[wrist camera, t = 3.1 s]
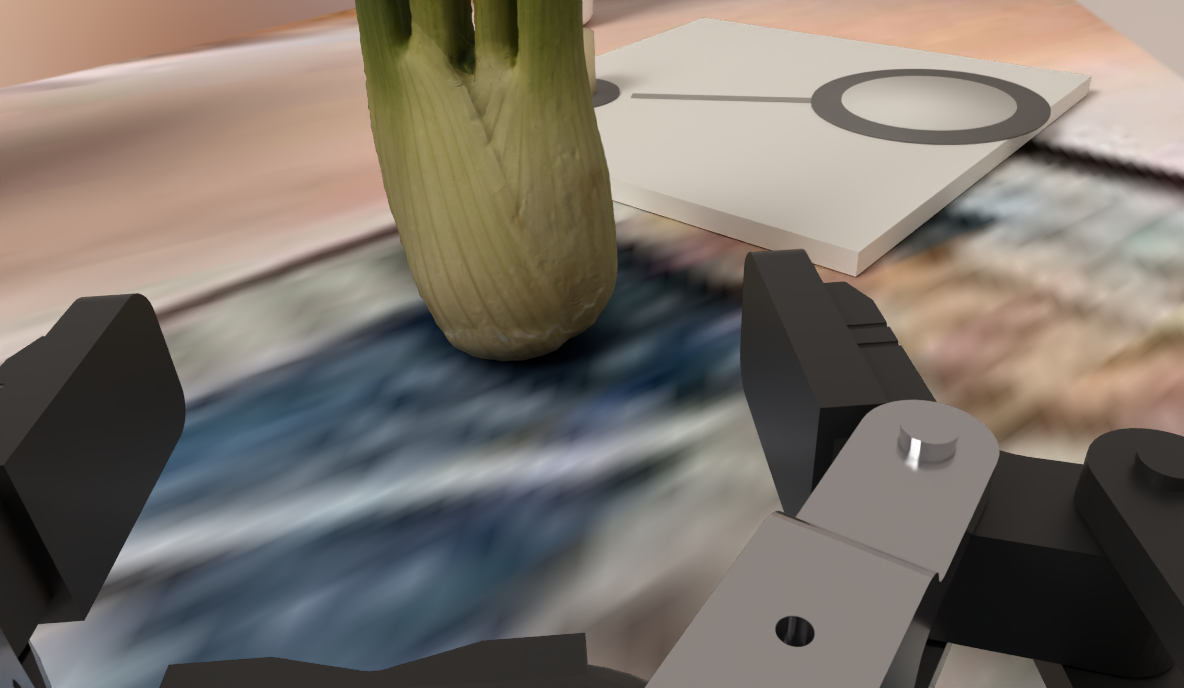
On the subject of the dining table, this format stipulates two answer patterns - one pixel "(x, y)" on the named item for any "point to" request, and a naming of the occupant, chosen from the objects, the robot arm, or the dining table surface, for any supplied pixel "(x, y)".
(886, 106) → the gauge board
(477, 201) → the fennel bulb
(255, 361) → the dining table surface
